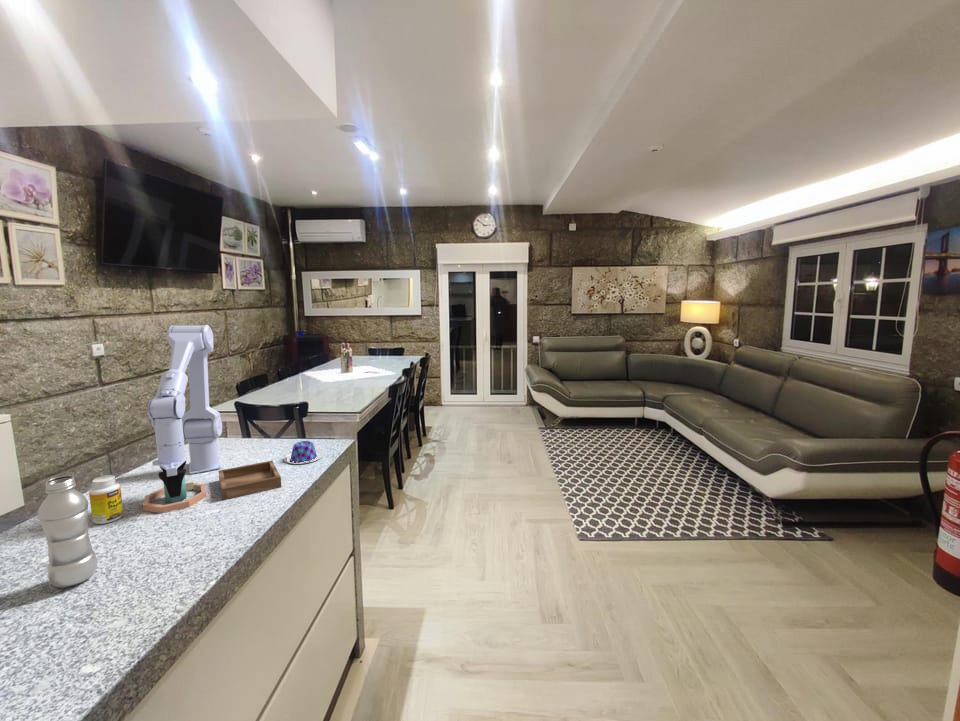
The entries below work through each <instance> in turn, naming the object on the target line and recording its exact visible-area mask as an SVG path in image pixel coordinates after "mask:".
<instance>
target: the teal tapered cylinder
mask: <svg viewBox="0 0 960 721" xmlns="http://www.w3.org/2000/svg"><path fill="white" fill-rule="evenodd" d="M185 475H186V474H185ZM185 475H184V478H183V481H182V488H181V495H180V496H178V497H173V498H170V496H169V494H168V491H167V488H166V486H165V484H164V482H163V481H162V484H163V487H164V492H165V494H164V499H165V500H164V501H165V504H166V505H167V504H172V503H176V502H181V501H183V500H184V499H185V500H187V498H188V497H187V496H188V495H187V491H193V490H192V489H194V487H193V483H194V480H191V481H186V477H185ZM186 497H187V498H186ZM185 500H184V501H185Z"/></svg>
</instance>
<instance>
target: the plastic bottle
mask: <svg viewBox="0 0 960 721" xmlns="http://www.w3.org/2000/svg"><path fill="white" fill-rule="evenodd" d="M44 485H45V494H47V496H46V498H44V500H42V503H41V504H40V506H39V508H38V510H37V518H38V520H39V522H40V525H41V528H42V530H43V533H44V536H45V540H46V543H47V549H48V550H47V551H48V567H47V579H48V581H49V583H50V585H52V586H54V587H55V588H59V589H63V588H70V587H73V586H76V585H78V584H80V583H83V582H85V581H86V580H88V579H90V578H91V577H92V576H93V574H95V572H96V570H97V568H98V558H97V555H96V552H95V550H93V546H92V543H91V538H90V536H89V530H88V529H89V525H88V517H89V515H88V514H89V500H88V499H87V497H86V496H85V495H84V494H82V493H81V492H80V491H78V490H77V489H75V488H76V487H77V484H76V480H75V477H74V475H70V474H69V475H61V476H57V477H54V478H51V479H48V480H47V481H46V482H45V484H44Z"/></svg>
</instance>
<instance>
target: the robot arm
mask: <svg viewBox="0 0 960 721" xmlns="http://www.w3.org/2000/svg"><path fill="white" fill-rule="evenodd" d="M166 334H167V335H166V338H167V341H168V344H169V347H170V349H171V354H170V360H169V366H168V370H167V371H165V372H163V373H162V375H161V378H160V381H159V385H158V388H157V391H156V395H155V397H154V398H152V399H150V400H149V402H148V406H147V416H148V418H149V420H150V422H151V426H152V428H154V434H155V442H156V443H155V444H156V454H157V459H156V460H152V464H151V465H152V466H153V467H154V466H158V467H159V468H160V469H161V470H162V471H160V472H158V478H159V479H160V481H162V483H163V482H164V483H163V485H164V484H165V486H166V488H167V491H168V494H169V496H170V498H173V497H178V496H180V495H181V488H182V481H183V478H184V475H186V472H187V468H185V466H186V465H187V461H188V456H187V455H186V448H185V443H187V444H188V450H189V452H188V454H189V461H190V462H189V464H188V467H189V468H188V471H189V475H192V474H198V473H203V472H209V471H214V470H215V471H216V470H220V469H222V465H221V460H220V457H219V452H218V438H220V436H221V435H222V433H223V421H222V419H221V418H222V417H221V412H219V411H218V410H216V409H214V408H212V407H211V406H210V392H209V391H210V390H209V388H210V387H209V369H208V367H209V366H208V365H209V364H208V357H209V356H208V355H209V354H210V353H212V352H213V351H214V332H213V330H212V328H211V327H210V325H208V324H204V325H203V324H202V325H176V324H172V325H170V326H169V328H168V329H167V333H166ZM187 368H188V376H187V374H186V371H187ZM188 383H189V387H188V386H187V385H188ZM187 387H188V388H189V404H190V406H189V408H190V409H189V410H188V411H186V396H185V393H186V390H187Z"/></svg>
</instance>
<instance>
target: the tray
mask: <svg viewBox="0 0 960 721" xmlns="http://www.w3.org/2000/svg"><path fill="white" fill-rule="evenodd" d="M218 480H219V485H220V486H219V487H220V491H221V495H222V496H221V497H222V500H223V501H226V500H230V499H234V498H239V497H244V496H247V495H251V494H252V495H253V494H257V493H261V492H266V491H270V490H275V489H279V488H282V477H281V474H280V473H279V471H278V469H277V467H276V465H275V463H274V462H273V460H267V461H263V462H257V463H253V464H252V463H251V464H247V465H242V466H237V467H231V468H226V469H221V470H220V469H219V470H218Z"/></svg>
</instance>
